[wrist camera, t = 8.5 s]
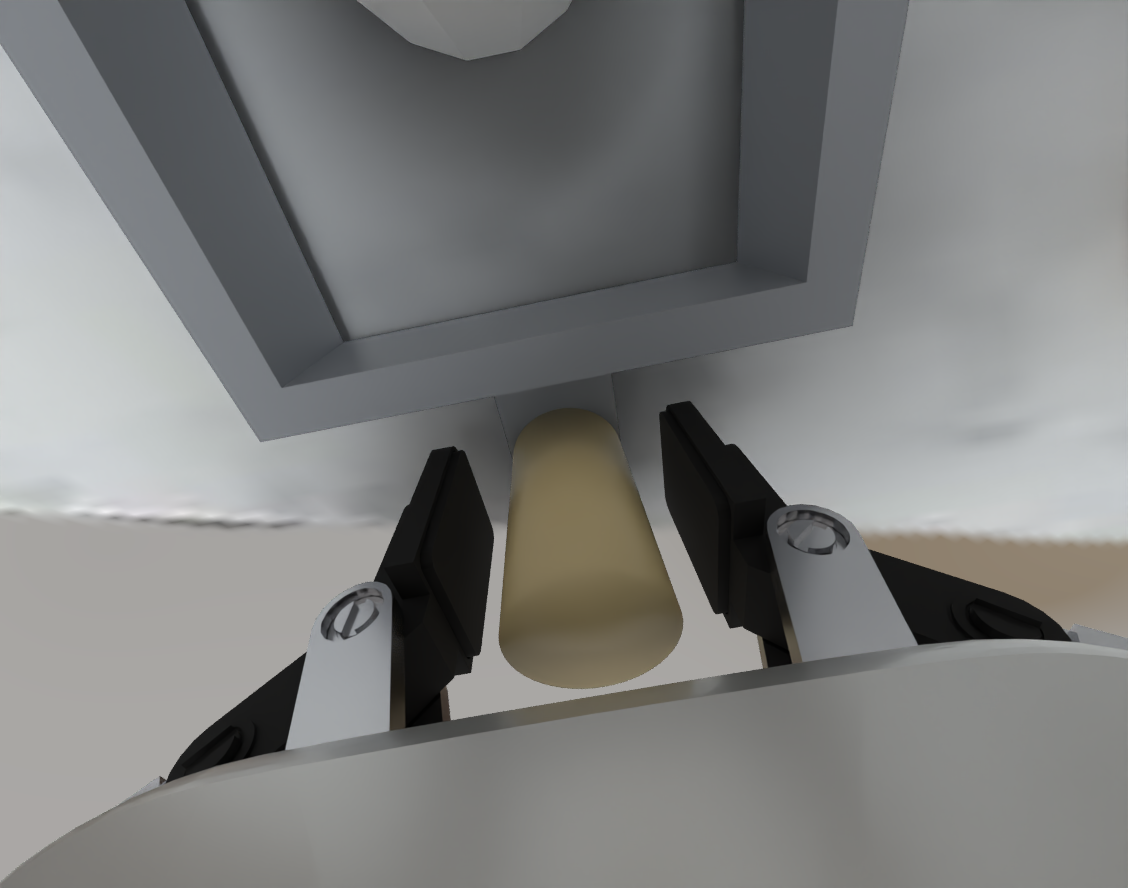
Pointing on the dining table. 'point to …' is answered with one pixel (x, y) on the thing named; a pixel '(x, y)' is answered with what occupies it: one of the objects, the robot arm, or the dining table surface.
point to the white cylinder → (468, 23)
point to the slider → (496, 339)
